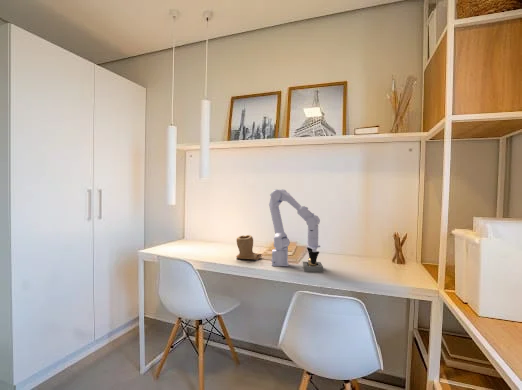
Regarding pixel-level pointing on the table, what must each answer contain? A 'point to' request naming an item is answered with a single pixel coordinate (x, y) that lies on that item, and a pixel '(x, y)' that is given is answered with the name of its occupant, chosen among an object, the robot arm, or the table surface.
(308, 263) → the piston
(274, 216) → the robot arm
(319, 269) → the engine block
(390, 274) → the table surface
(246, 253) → the brown boot
